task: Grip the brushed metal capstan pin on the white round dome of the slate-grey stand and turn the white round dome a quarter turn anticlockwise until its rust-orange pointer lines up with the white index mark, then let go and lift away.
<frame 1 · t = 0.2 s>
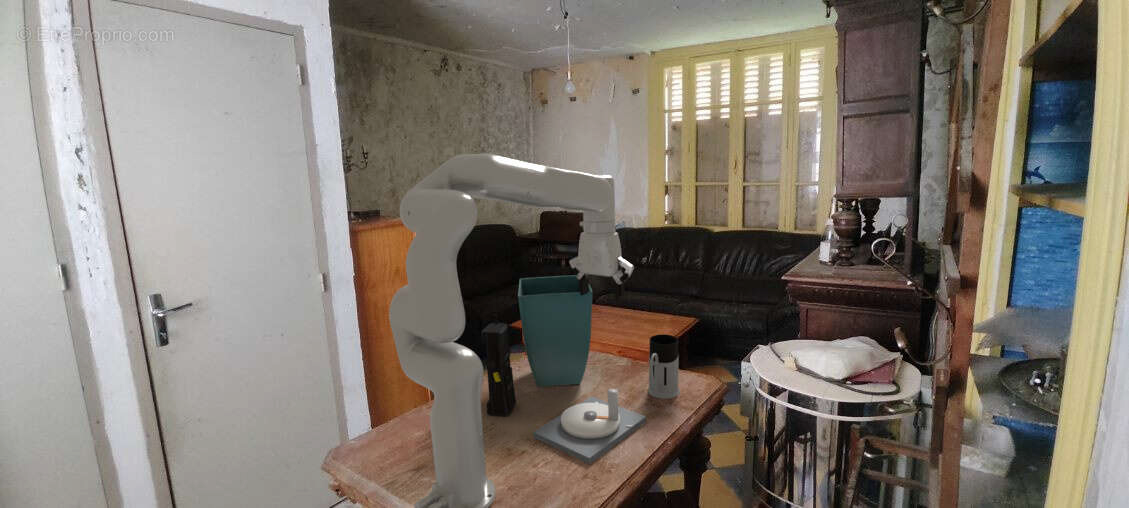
hand: (601, 296, 128), 30 cm above the table, tool pointing down, fingers open, 9 cm apart
stand: (590, 429, 125), on the table
white round dome: (590, 406, 124), point 6 cm above the table, hinge at -60.0°
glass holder: (660, 396, 141), on the table
flower pot: (557, 377, 155), on the table
portable radio: (501, 411, 136), on the table
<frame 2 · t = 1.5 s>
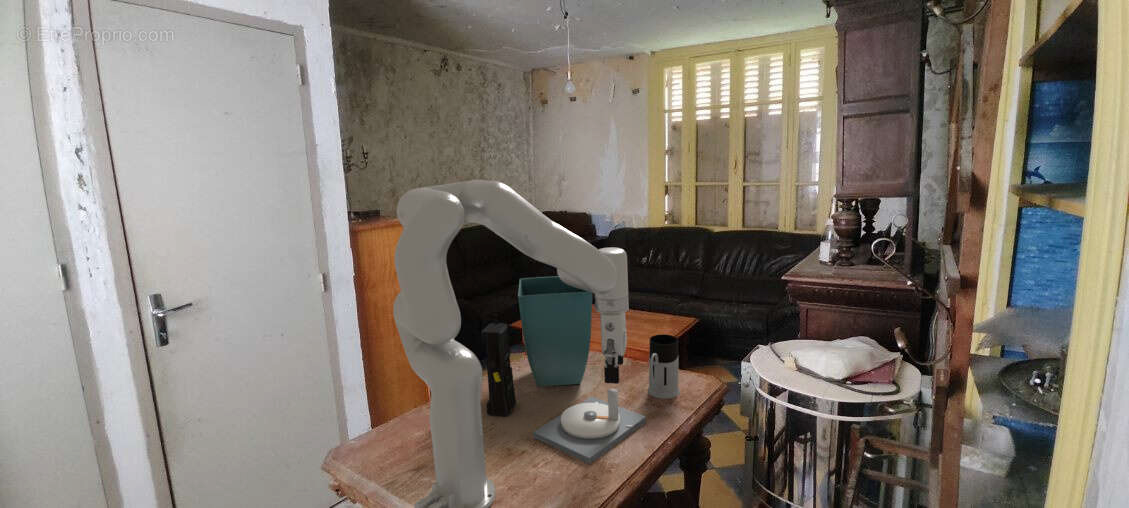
hand: (614, 373, 121), 15 cm above the table, tool pointing down, fingers open, 9 cm apart
nothing on the table moved.
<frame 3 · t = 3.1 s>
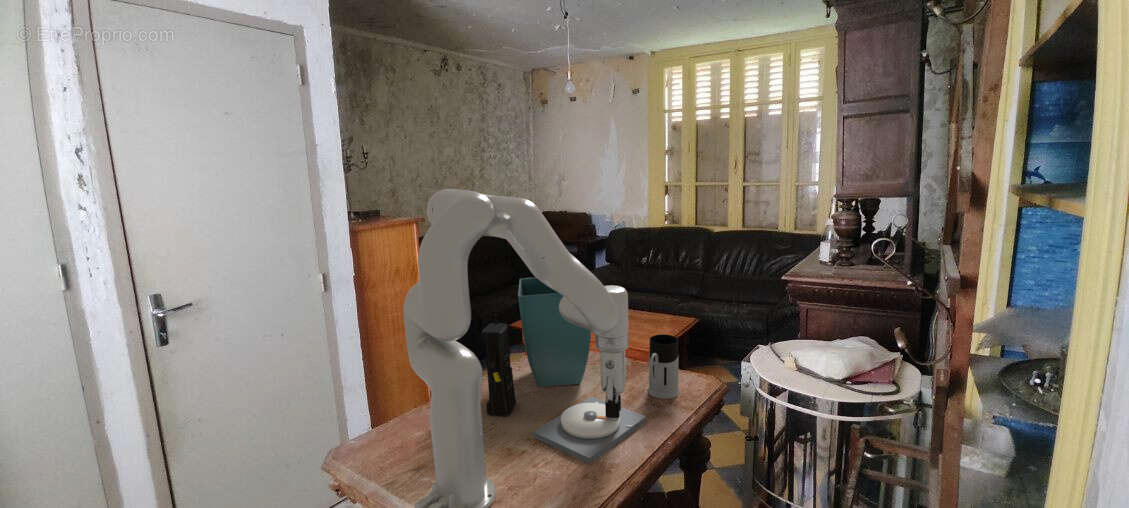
hand: (613, 413, 123), 5 cm above the table, tool pointing down, fingers closed on white round dome, 2 cm apart
white round dome: (590, 406, 124), point 6 cm above the table, hinge at -60.0°, touching gripper
everything else where it was.
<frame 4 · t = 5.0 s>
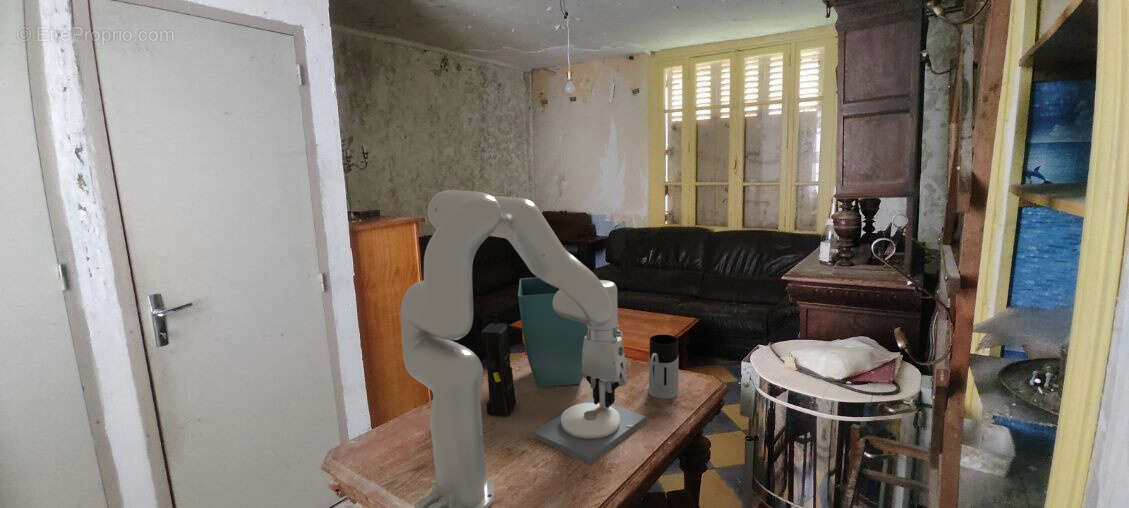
hand: (603, 403, 128), 5 cm above the table, tool pointing down, fingers closed on white round dome, 2 cm apart
white round dome: (590, 406, 124), point 6 cm above the table, hinge at -0.1°, touching gripper
everything else where it was.
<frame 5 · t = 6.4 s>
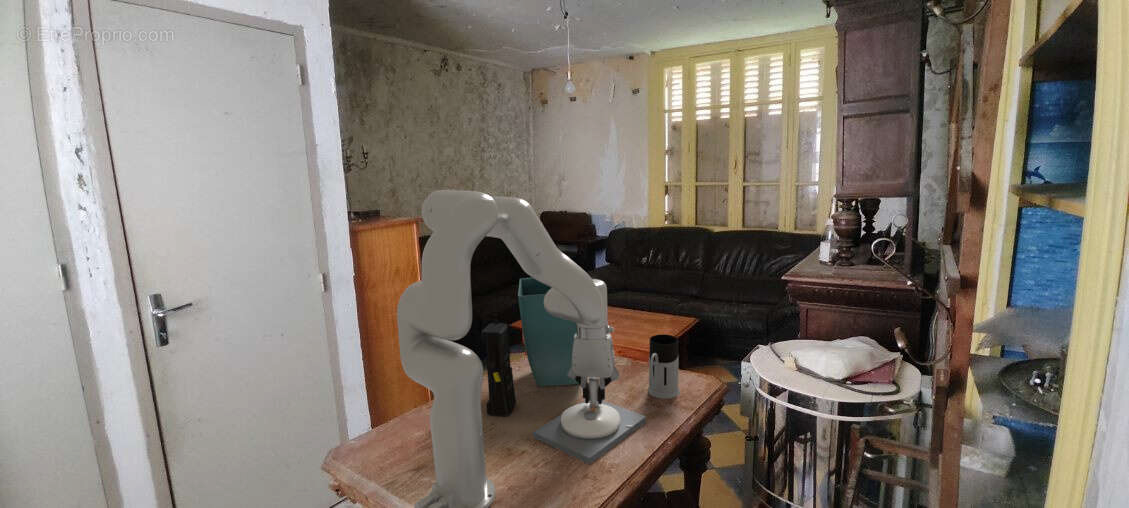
hand: (594, 400, 130), 5 cm above the table, tool pointing down, fingers closed on white round dome, 2 cm apart
white round dome: (590, 406, 124), point 6 cm above the table, hinge at 27.9°, touching gripper
everything else where it was.
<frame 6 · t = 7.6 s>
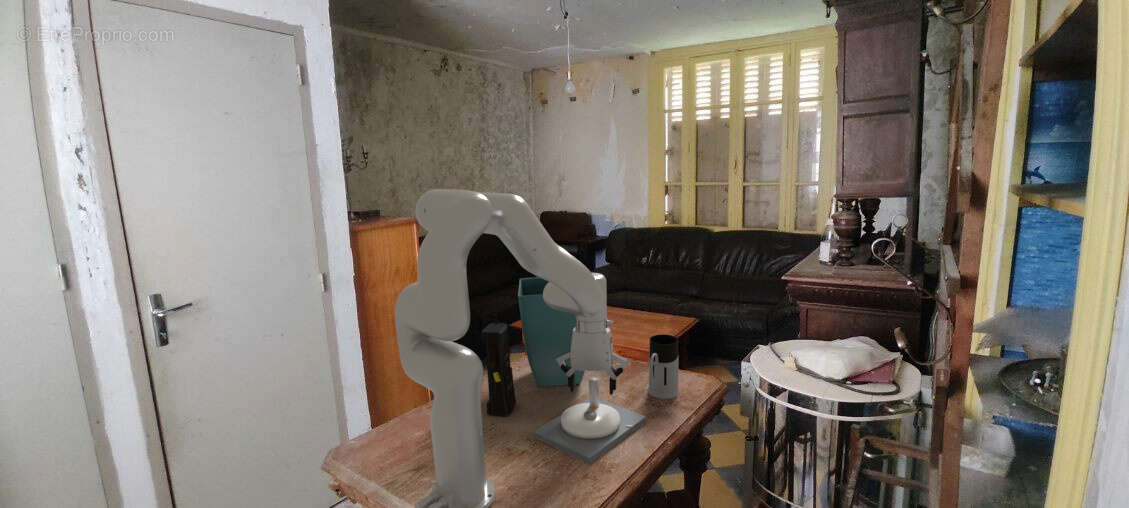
hand: (592, 391, 129), 7 cm above the table, tool pointing down, fingers open, 9 cm apart
white round dome: (590, 406, 124), point 6 cm above the table, hinge at 28.0°
everything else where it was.
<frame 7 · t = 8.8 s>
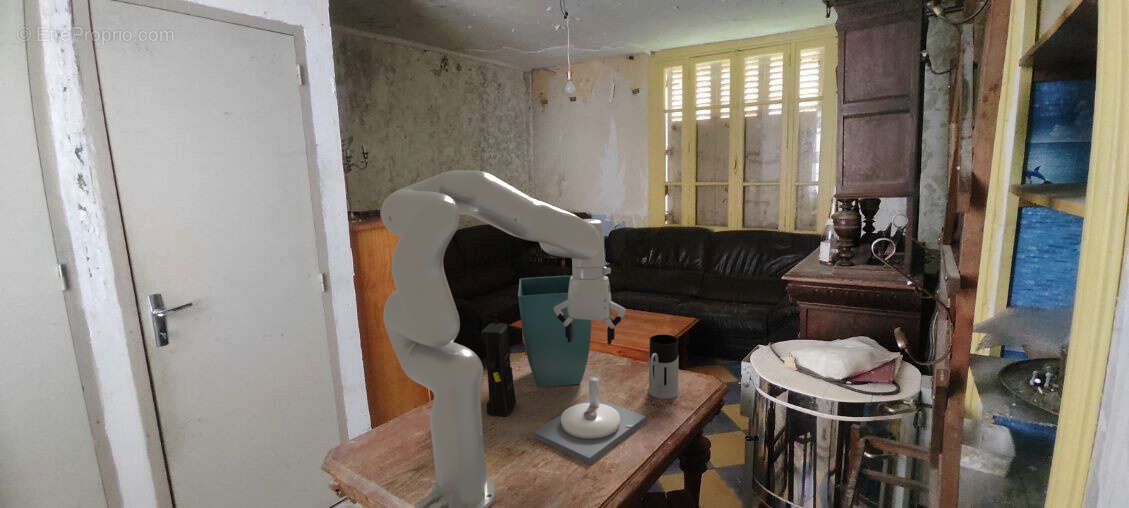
hand: (590, 341, 126), 20 cm above the table, tool pointing down, fingers open, 9 cm apart
nothing on the table moved.
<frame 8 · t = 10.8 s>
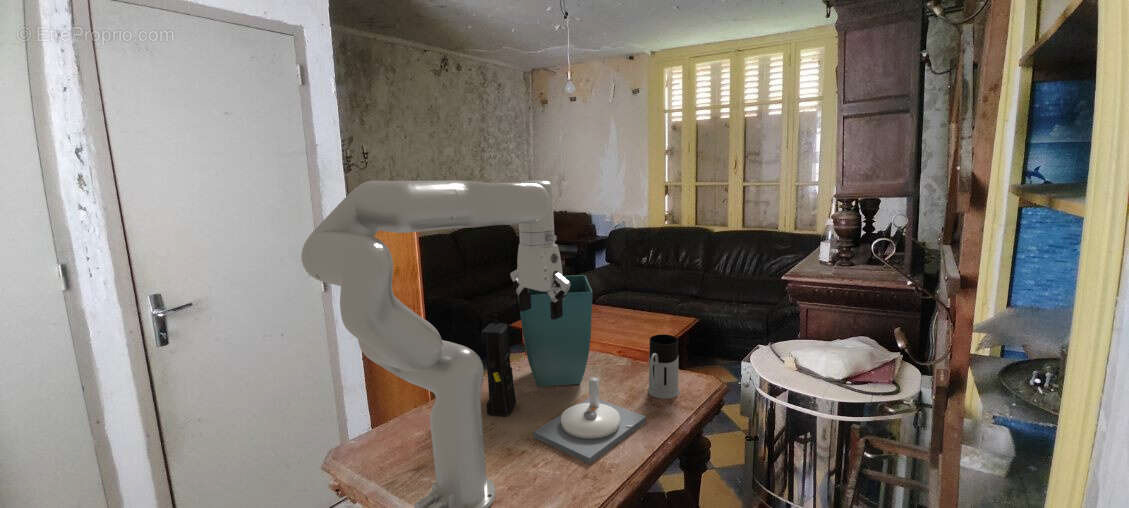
hand: (540, 313, 116), 30 cm above the table, tool pointing down, fingers open, 9 cm apart
nothing on the table moved.
at the end: white round dome at +28° (first picture: -60°); the gripper is holding nothing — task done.
